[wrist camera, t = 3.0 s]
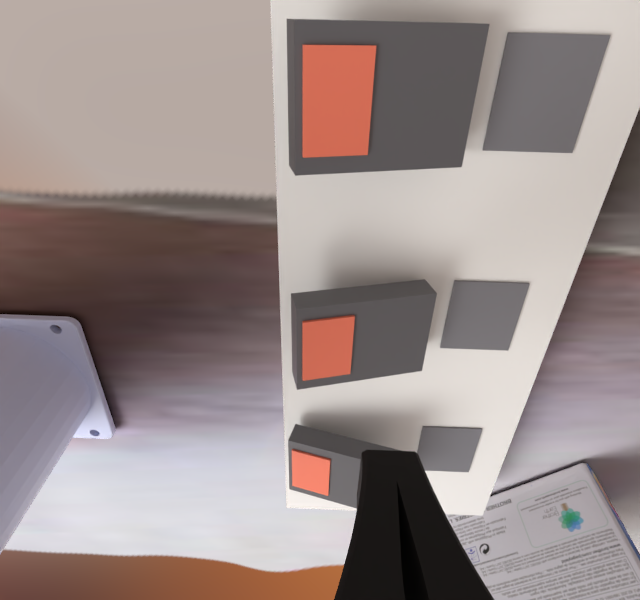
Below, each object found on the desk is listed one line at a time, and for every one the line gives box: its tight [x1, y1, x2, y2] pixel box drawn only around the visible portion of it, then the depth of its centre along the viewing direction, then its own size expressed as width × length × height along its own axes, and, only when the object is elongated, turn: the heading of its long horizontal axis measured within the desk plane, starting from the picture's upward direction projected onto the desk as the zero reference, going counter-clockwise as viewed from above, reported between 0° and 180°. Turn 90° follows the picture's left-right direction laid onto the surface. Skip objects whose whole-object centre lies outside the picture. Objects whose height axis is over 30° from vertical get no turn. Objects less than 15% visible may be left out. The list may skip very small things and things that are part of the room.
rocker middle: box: [291, 279, 437, 390], centre depth 16 cm, size 5×4×1 cm
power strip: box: [270, 0, 640, 516], centre depth 17 cm, size 11×32×2 cm, turn 179°
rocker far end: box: [288, 424, 401, 509], centre depth 21 cm, size 5×4×1 cm
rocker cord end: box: [287, 19, 490, 176], centre depth 12 cm, size 5×4×1 cm
